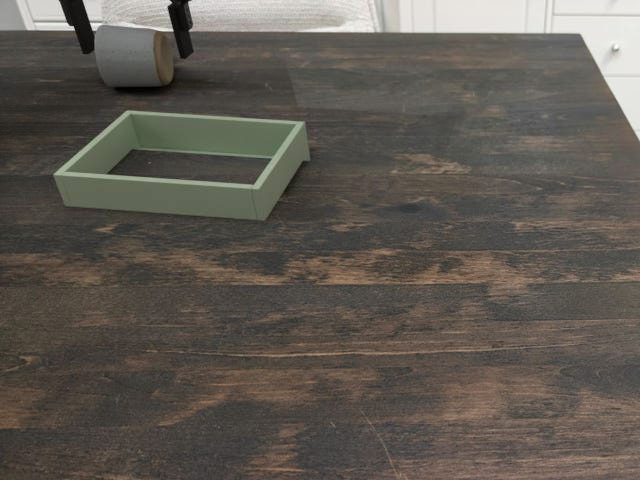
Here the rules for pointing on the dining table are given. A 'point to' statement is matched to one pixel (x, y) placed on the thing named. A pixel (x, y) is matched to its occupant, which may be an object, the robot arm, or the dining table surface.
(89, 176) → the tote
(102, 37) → the ceramic mug
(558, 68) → the dining table surface
